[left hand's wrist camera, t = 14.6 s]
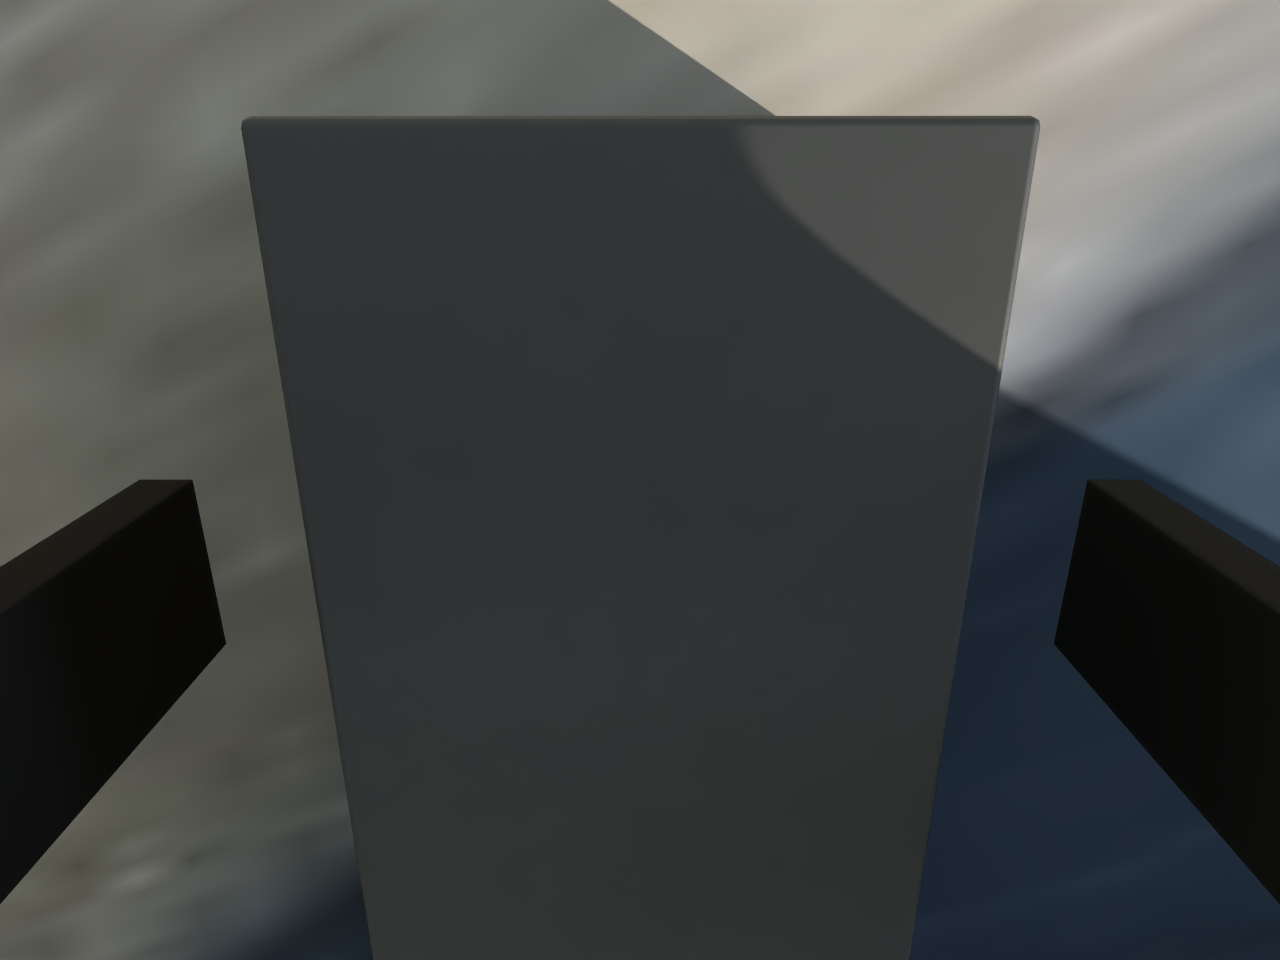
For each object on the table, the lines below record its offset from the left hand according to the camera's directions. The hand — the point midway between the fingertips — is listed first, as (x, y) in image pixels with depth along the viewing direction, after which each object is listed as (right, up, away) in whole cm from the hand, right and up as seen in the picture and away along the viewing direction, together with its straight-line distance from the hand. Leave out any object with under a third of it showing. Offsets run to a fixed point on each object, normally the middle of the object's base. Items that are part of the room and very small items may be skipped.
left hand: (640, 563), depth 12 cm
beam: (0, -24, +13) cm, 28 cm away
